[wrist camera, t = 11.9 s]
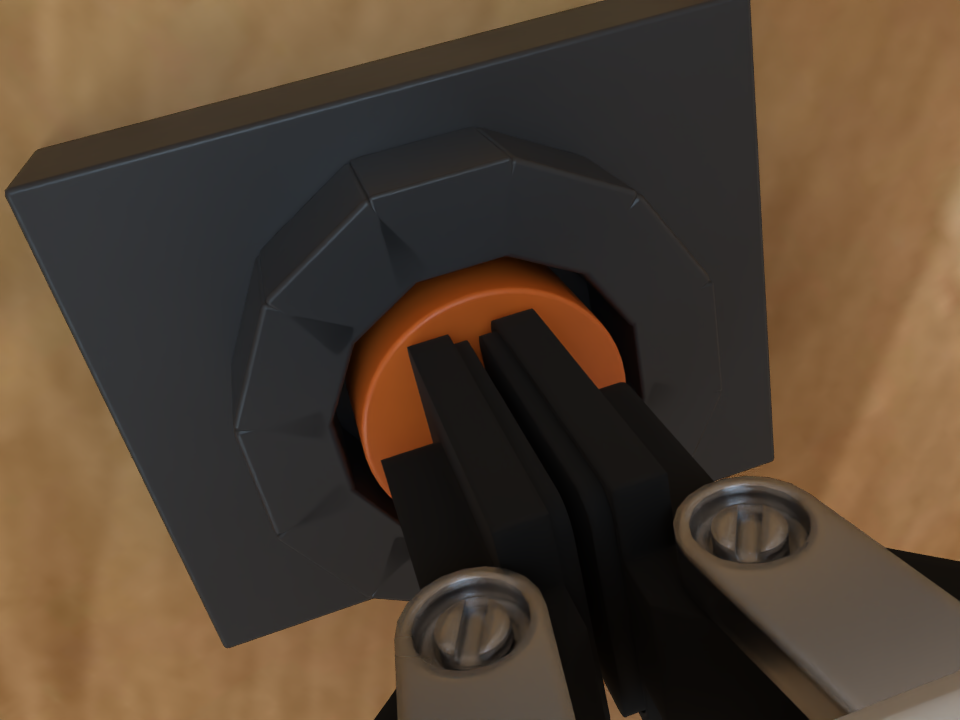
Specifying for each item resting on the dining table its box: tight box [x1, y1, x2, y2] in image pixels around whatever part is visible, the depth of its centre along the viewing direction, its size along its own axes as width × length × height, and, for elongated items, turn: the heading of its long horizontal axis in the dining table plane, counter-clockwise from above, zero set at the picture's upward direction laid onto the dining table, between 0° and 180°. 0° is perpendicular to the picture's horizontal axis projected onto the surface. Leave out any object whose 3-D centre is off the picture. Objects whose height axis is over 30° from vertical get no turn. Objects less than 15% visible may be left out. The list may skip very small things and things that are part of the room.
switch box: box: [5, 0, 774, 648], centre depth 14 cm, size 10×8×4 cm
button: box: [345, 256, 626, 498], centre depth 12 cm, size 4×4×2 cm
